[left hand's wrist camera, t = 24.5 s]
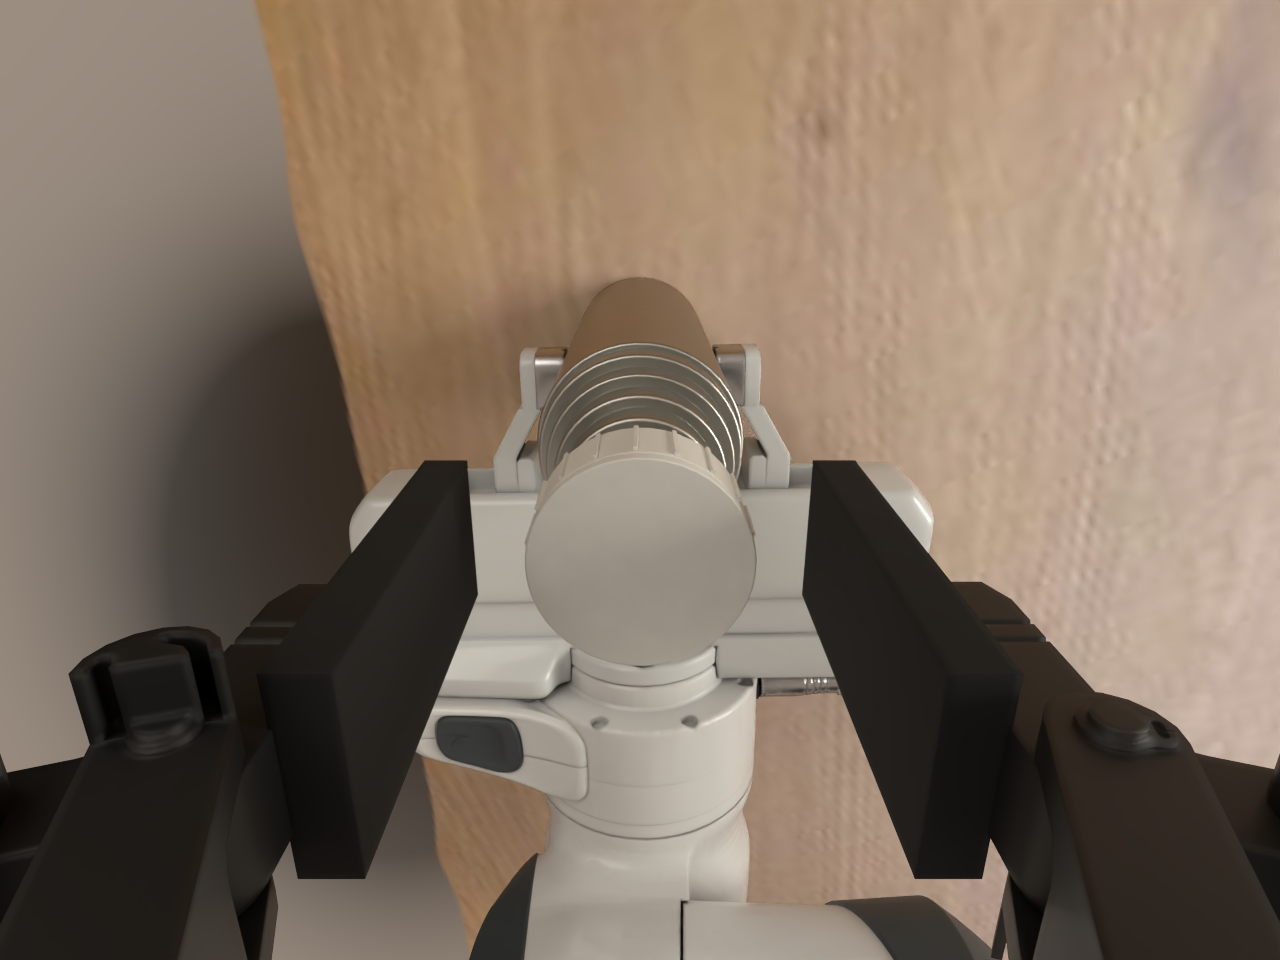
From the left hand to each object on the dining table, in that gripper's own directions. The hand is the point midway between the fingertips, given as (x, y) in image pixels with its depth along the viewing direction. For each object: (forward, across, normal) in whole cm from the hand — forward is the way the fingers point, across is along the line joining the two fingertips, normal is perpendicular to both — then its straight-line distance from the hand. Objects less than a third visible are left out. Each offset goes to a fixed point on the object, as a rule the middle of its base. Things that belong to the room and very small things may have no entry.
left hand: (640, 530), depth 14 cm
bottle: (+19, 0, 0) cm, 19 cm away
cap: (-1, 0, 0) cm, 1 cm away
